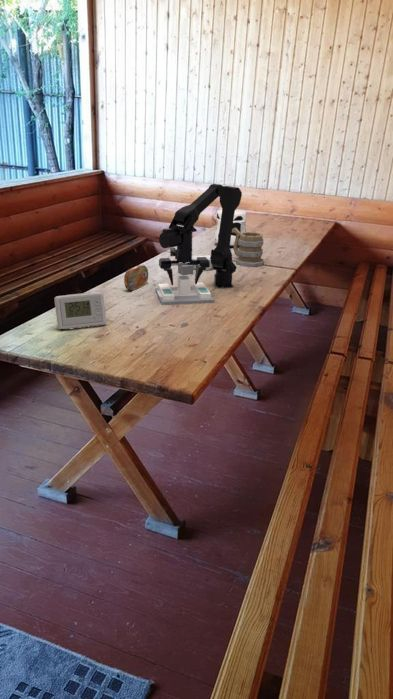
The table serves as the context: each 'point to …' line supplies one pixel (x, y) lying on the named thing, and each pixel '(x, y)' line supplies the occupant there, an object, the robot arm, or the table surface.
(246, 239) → the tankard
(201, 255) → the ramekin
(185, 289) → the block
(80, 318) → the digital clock
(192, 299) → the rail board
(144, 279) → the tin
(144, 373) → the table surface
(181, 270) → the loose block
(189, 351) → the table surface
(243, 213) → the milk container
